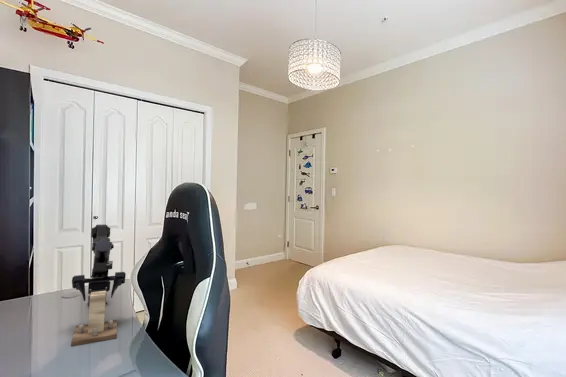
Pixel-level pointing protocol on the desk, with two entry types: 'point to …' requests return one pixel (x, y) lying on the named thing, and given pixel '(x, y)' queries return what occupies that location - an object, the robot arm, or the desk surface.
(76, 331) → the board
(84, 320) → the desk surface
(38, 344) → the desk surface
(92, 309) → the birch block
